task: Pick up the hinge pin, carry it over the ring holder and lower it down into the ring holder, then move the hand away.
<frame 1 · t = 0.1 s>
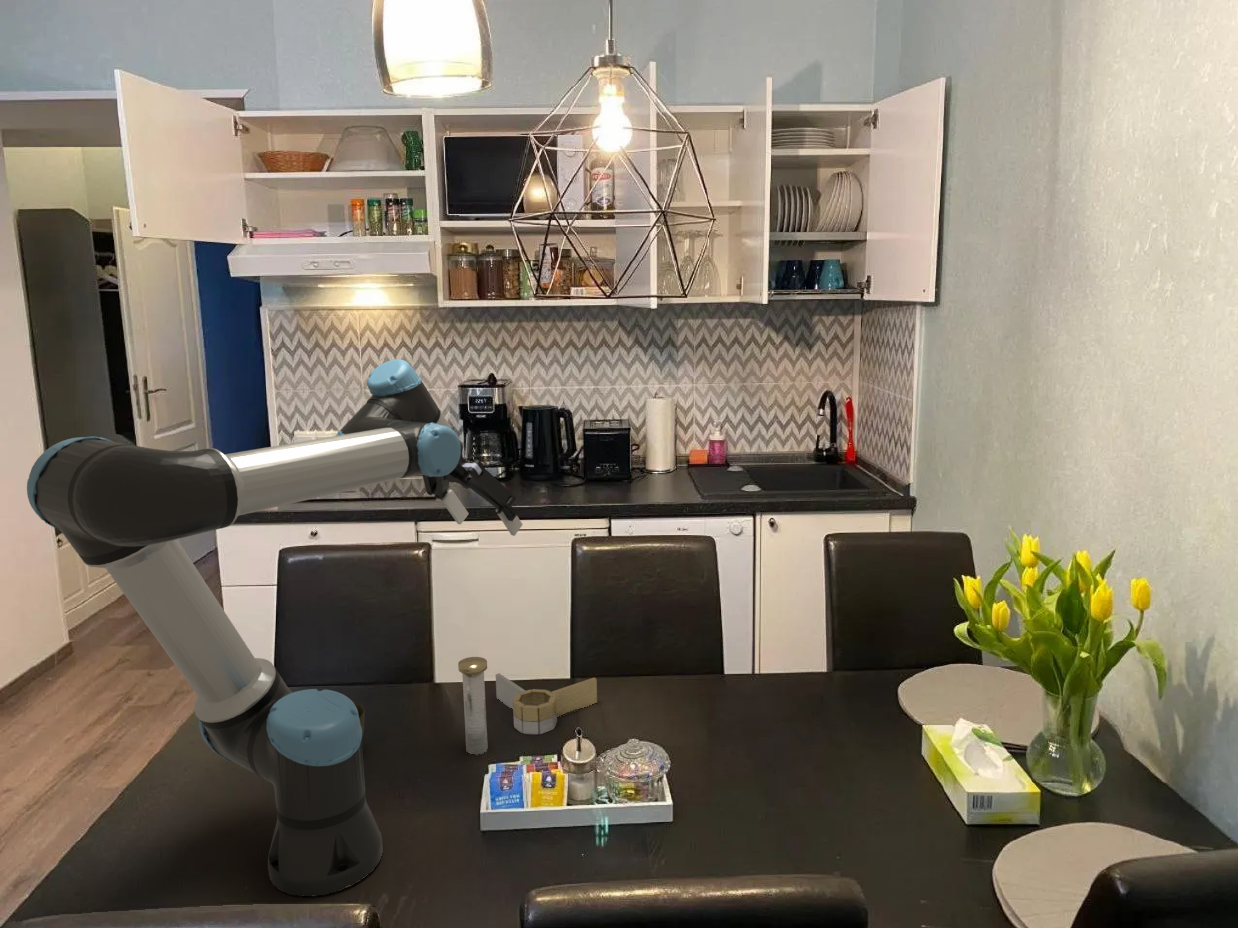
hand: (489, 524, 163), 36 cm above the table, tool tilted 35°, fingers open, 13 cm apart
hinge pin: (477, 749, 154), on the table
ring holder: (535, 723, 163), on the table
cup: (345, 755, 153), on the table
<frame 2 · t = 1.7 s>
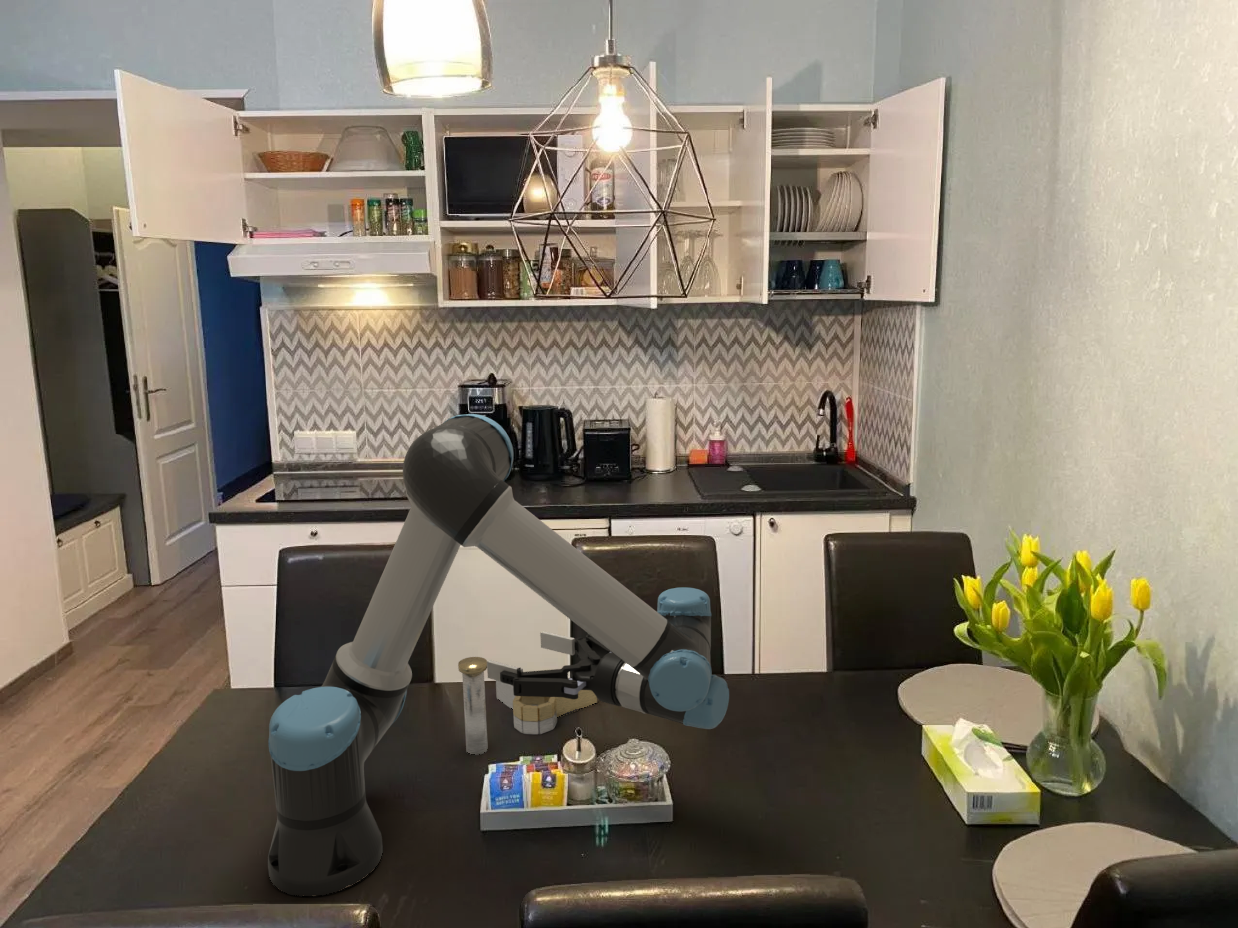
hand: (516, 653, 145), 20 cm above the table, tool horizontal, fingers open, 13 cm apart
nothing on the table moved.
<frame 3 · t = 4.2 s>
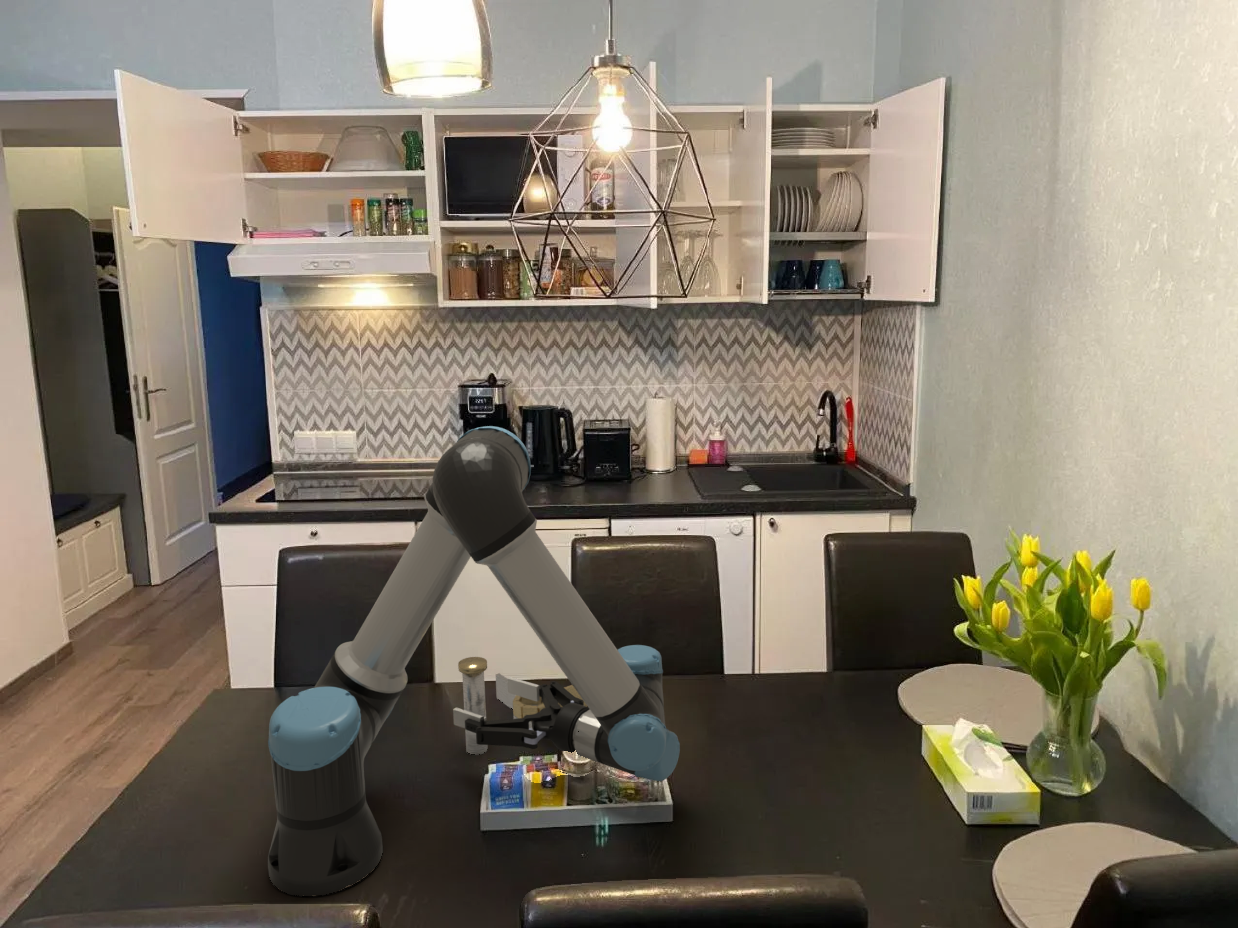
hand: (482, 699, 152), 9 cm above the table, tool horizontal, fingers open, 13 cm apart
nothing on the table moved.
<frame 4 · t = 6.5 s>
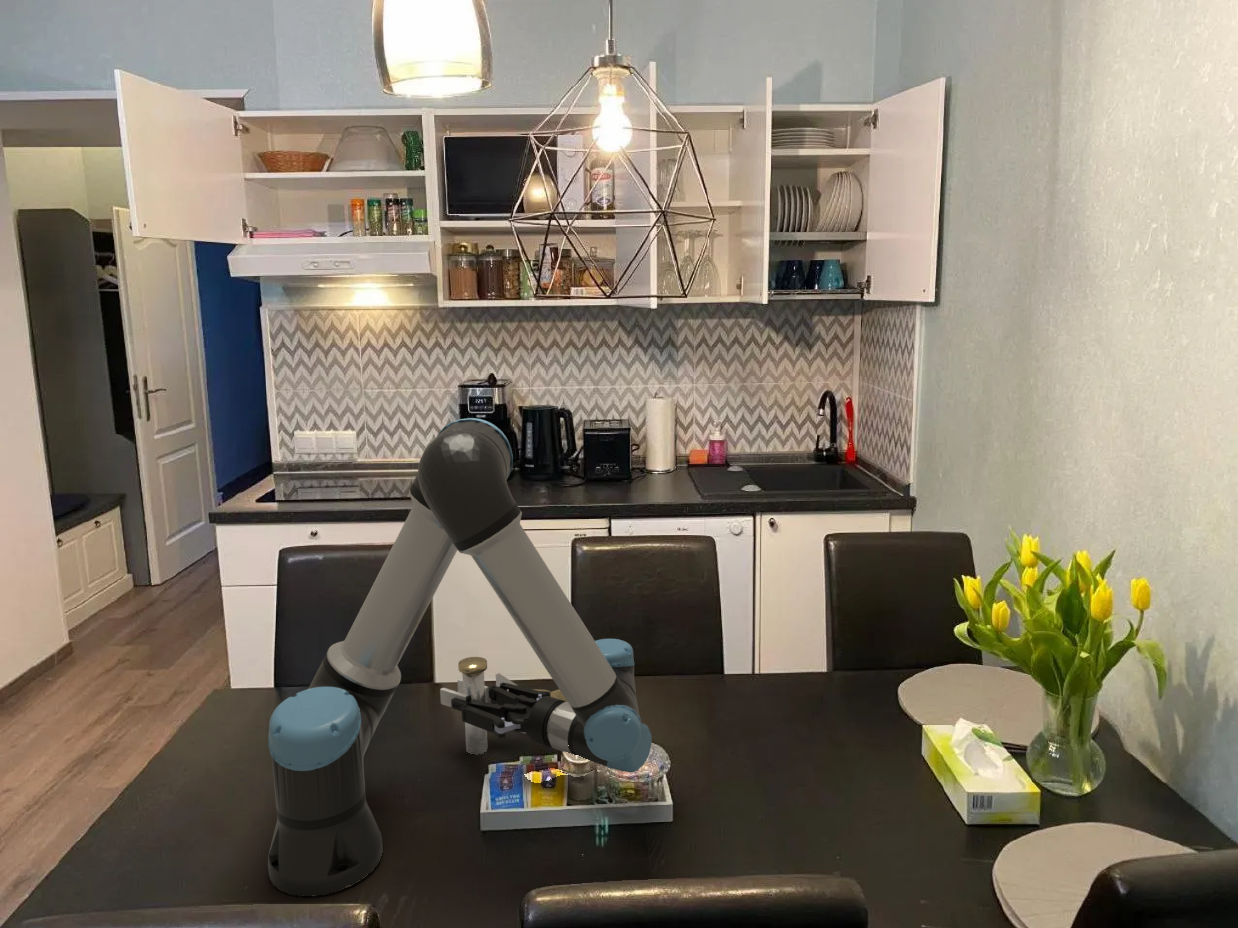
hand: (450, 690, 155), 10 cm above the table, tool horizontal, fingers closed on hinge pin, 4 cm apart
hinge pin: (477, 749, 154), on the table, touching gripper
everything else where it was.
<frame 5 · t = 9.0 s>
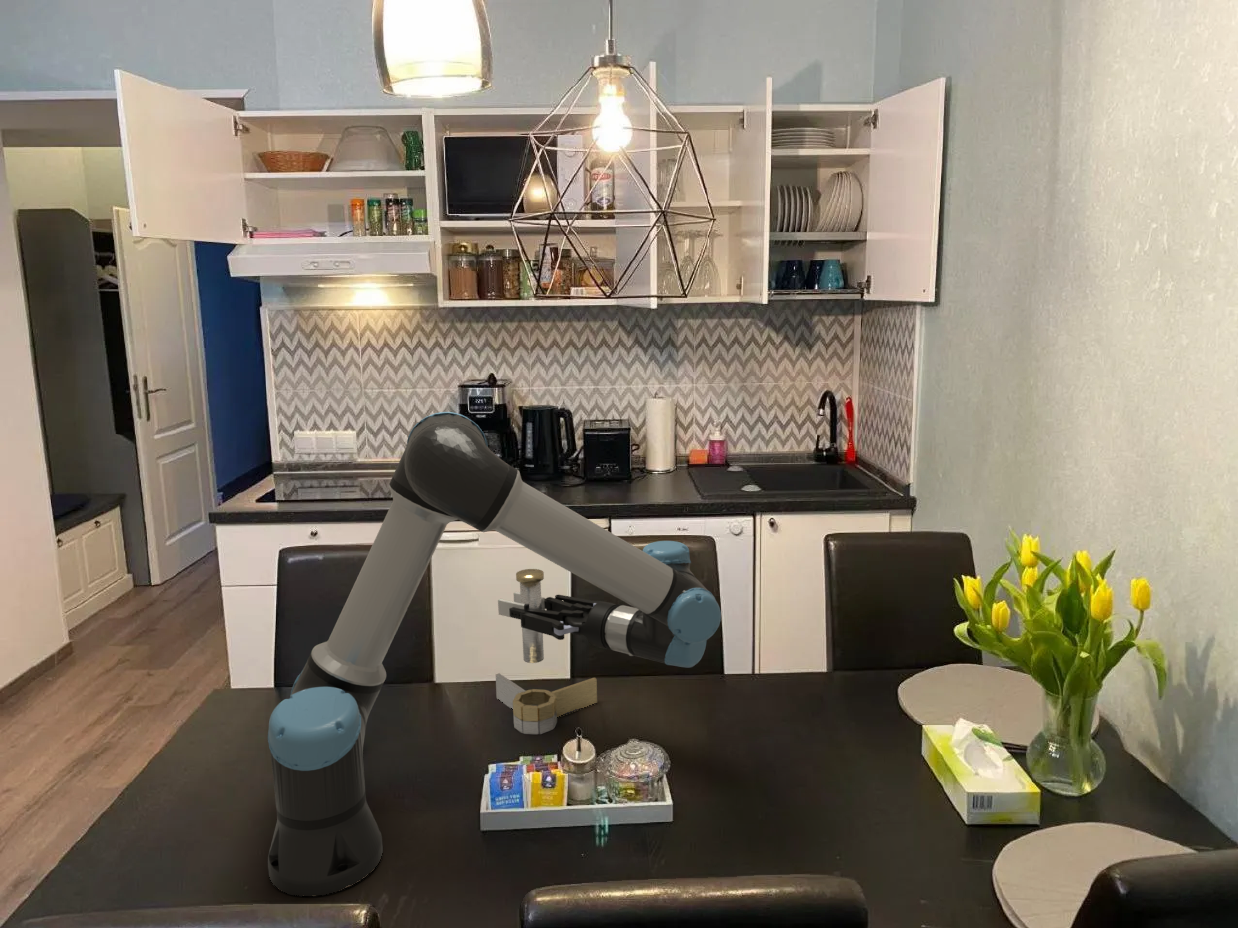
hand: (507, 602, 161), 22 cm above the table, tool horizontal, fingers closed on hinge pin, 4 cm apart
hinge pin: (533, 658, 160), point 13 cm above the table, touching gripper
everything else where it was.
when the fingers open (11 cm above the table, at t = 11.9 s): hinge pin drops 1 cm, resting in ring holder.
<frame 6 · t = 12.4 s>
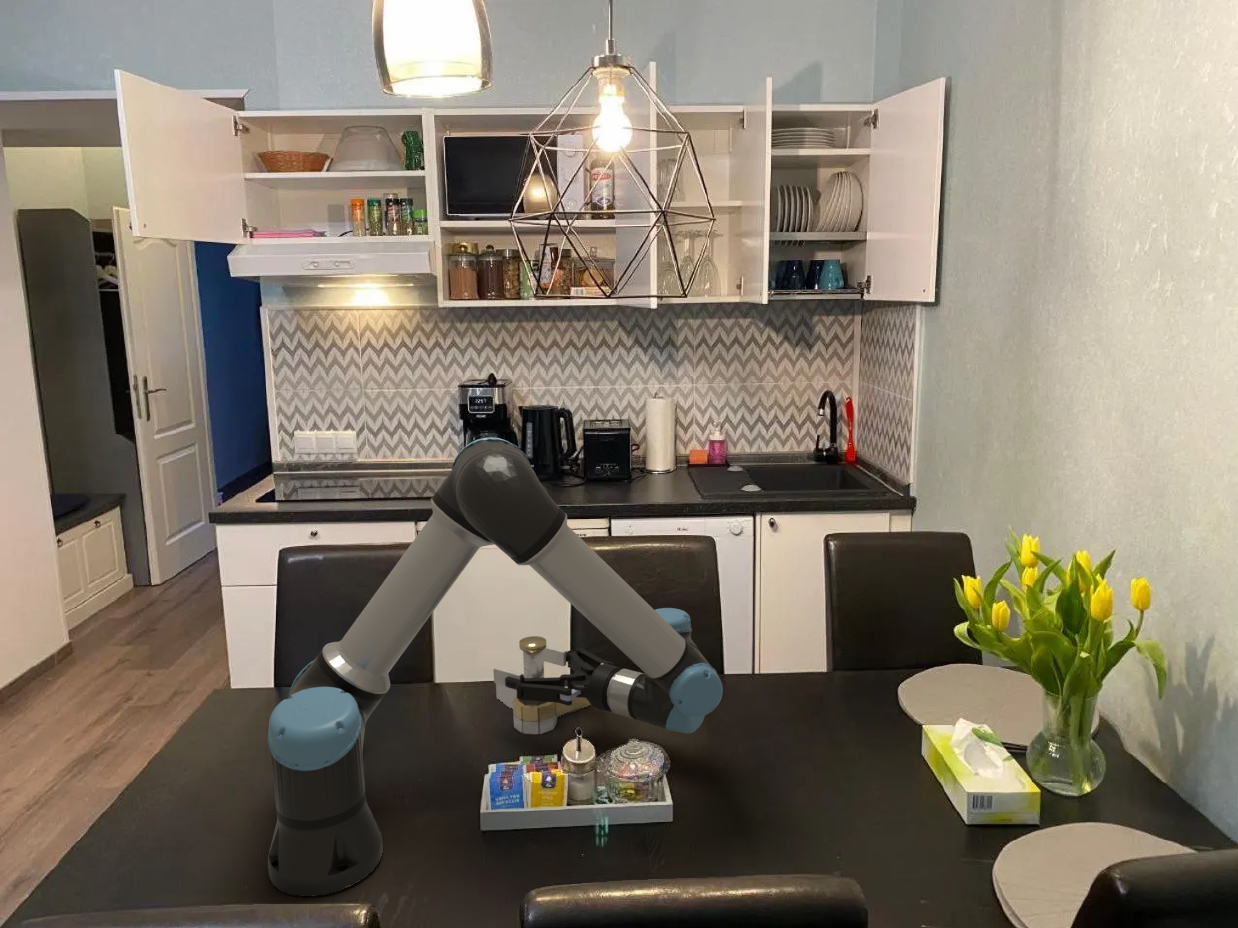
hand: (516, 662, 163), 11 cm above the table, tool horizontal, fingers open, 11 cm apart
hinge pin: (535, 724, 163), resting in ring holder
everything else where it was.
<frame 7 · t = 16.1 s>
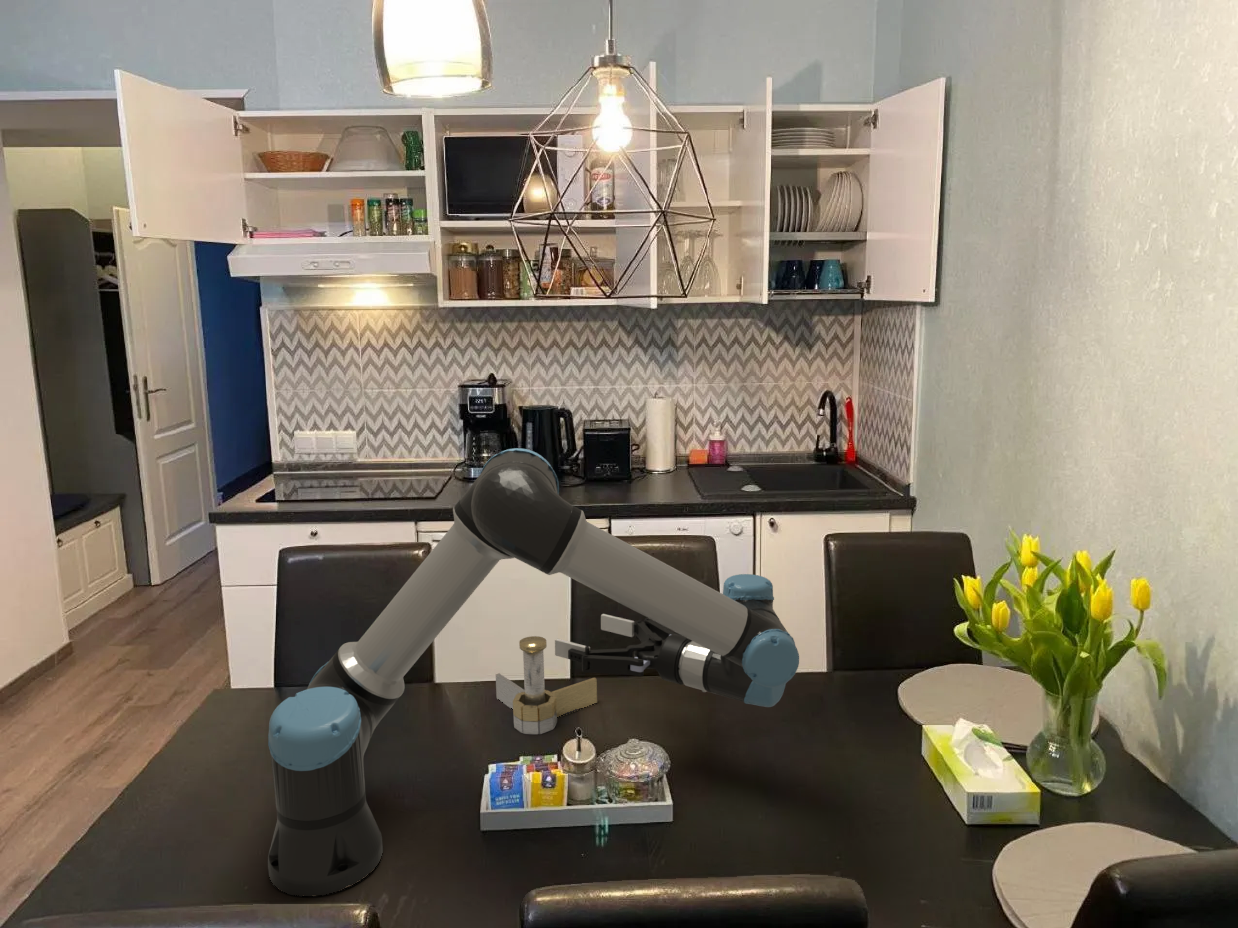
hand: (579, 633, 154), 19 cm above the table, tool horizontal, fingers open, 13 cm apart
nothing on the table moved.
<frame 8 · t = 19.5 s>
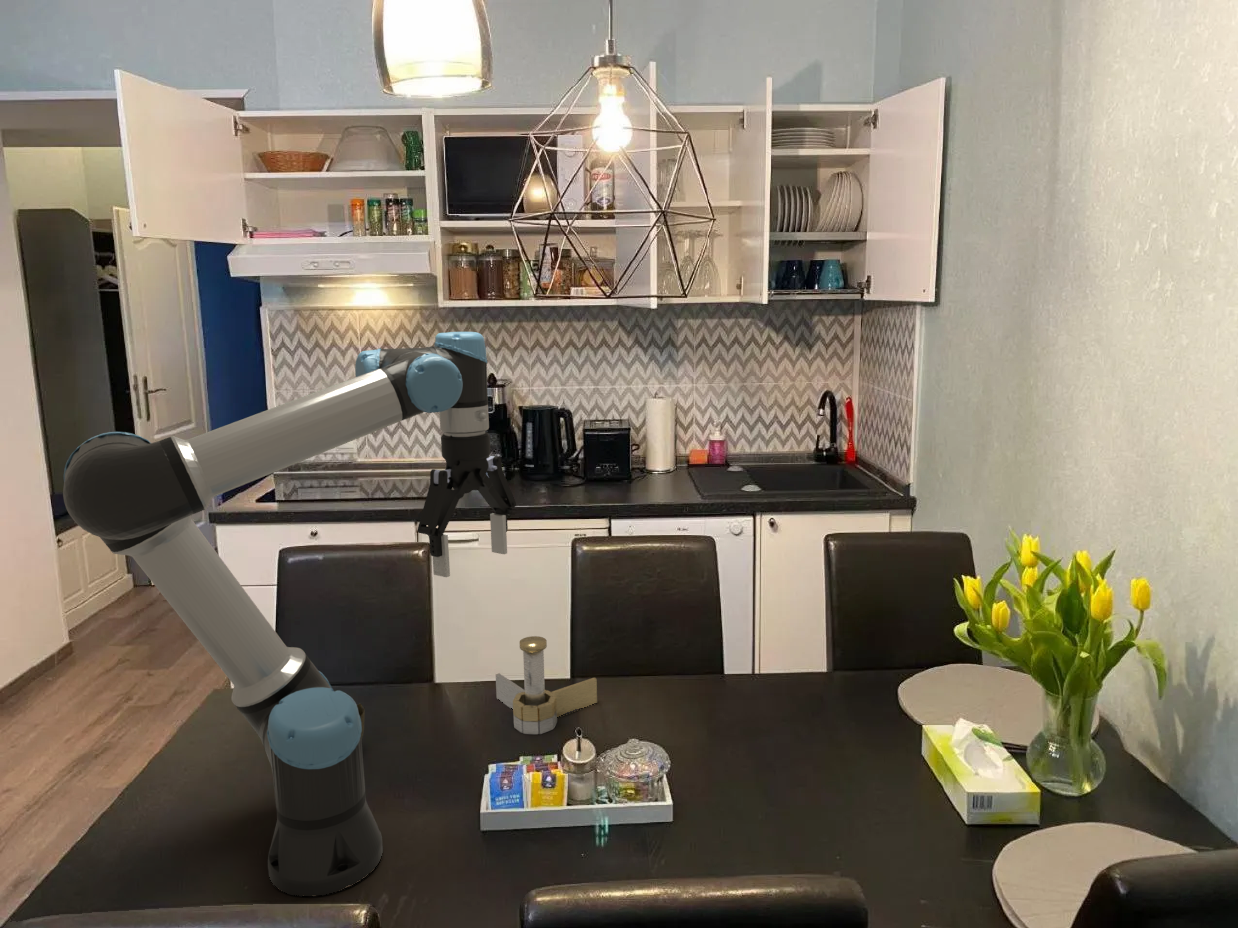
hand: (471, 563, 143), 35 cm above the table, tool pointing down, fingers open, 13 cm apart
nothing on the table moved.
at the end: hinge pin 0.1 cm off-centre on the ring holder, point 0.0 cm above the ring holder's base; hinge pin tilted 0°; the gripper is holding nothing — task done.
